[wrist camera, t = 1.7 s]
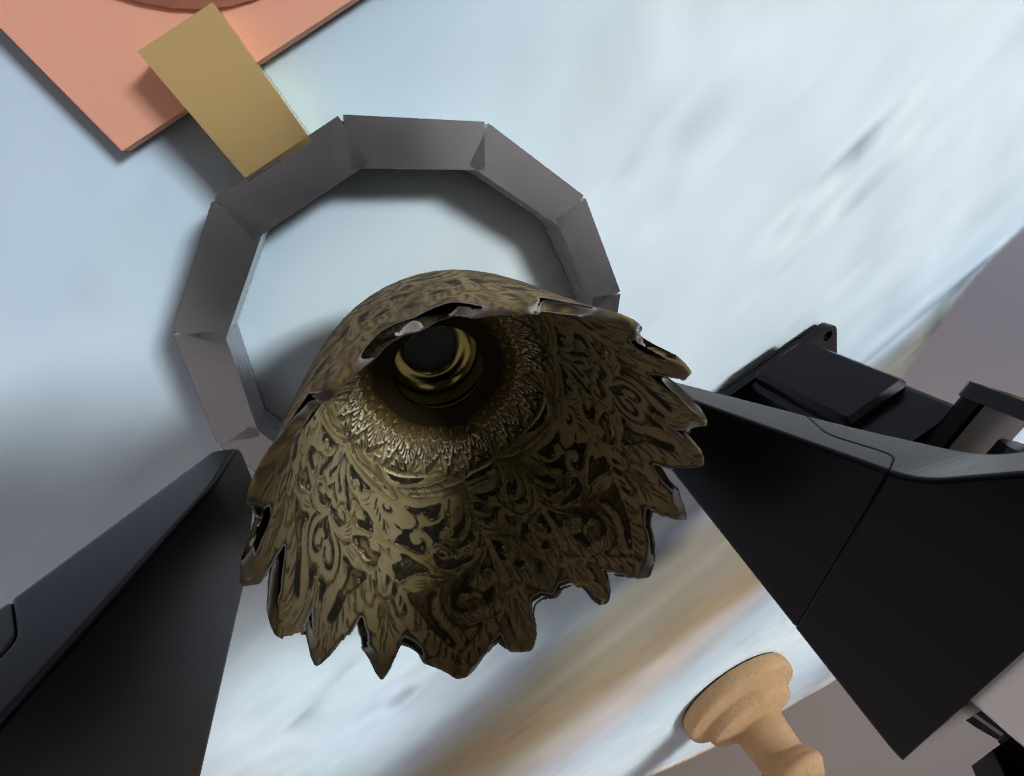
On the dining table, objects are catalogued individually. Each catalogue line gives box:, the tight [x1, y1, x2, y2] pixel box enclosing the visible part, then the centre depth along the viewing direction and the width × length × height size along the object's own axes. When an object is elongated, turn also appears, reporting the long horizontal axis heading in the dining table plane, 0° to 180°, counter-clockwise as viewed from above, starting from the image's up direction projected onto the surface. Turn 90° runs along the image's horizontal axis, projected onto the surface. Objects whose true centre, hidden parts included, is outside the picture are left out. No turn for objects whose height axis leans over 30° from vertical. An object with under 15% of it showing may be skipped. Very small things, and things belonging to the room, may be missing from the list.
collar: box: [137, 2, 620, 471], centre depth 12 cm, size 17×12×1 cm
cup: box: [239, 270, 707, 680], centre depth 10 cm, size 8×7×8 cm
